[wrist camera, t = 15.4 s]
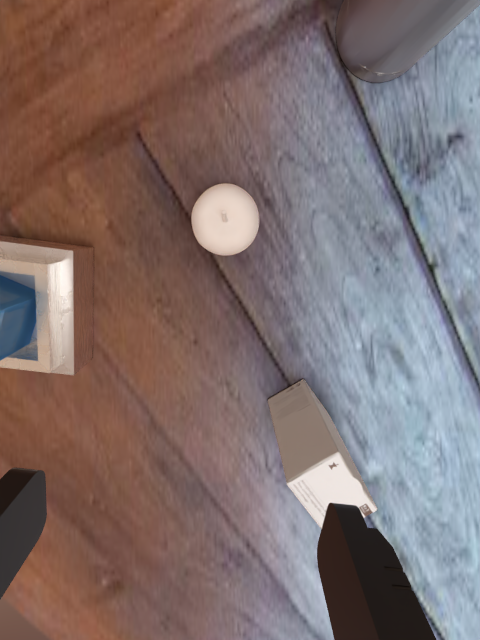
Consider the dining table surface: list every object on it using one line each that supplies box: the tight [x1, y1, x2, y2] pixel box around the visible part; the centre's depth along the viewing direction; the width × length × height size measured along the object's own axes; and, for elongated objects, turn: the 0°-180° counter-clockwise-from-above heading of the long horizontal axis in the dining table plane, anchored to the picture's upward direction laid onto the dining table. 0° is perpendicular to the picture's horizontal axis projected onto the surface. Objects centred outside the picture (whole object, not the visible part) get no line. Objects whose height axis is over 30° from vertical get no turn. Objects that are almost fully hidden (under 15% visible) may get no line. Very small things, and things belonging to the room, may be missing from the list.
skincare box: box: [268, 379, 377, 529], centre depth 38 cm, size 8×6×15 cm
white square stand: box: [0, 235, 94, 375], centre depth 37 cm, size 14×14×8 cm
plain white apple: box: [191, 183, 259, 256], centre depth 34 cm, size 7×7×8 cm
